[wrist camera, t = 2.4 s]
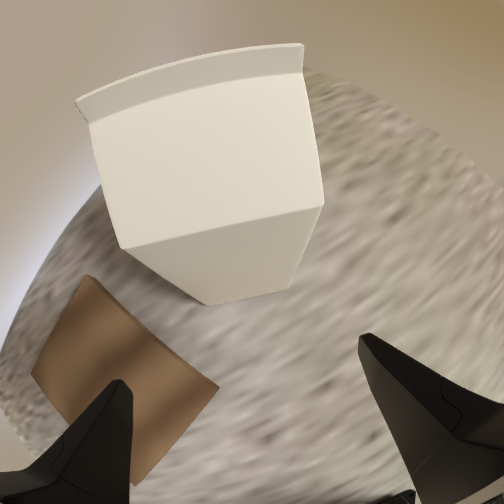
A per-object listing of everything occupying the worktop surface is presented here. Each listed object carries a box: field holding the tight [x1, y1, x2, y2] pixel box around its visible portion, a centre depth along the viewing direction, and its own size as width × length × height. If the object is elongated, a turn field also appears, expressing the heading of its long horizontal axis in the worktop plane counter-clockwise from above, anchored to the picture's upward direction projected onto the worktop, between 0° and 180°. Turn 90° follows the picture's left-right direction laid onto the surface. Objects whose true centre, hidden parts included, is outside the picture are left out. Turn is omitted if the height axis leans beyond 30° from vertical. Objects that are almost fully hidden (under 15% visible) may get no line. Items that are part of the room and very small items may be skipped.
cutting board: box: [31, 275, 220, 486], centre depth 20 cm, size 16×14×2 cm
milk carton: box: [75, 43, 324, 306], centre depth 15 cm, size 7×7×19 cm
